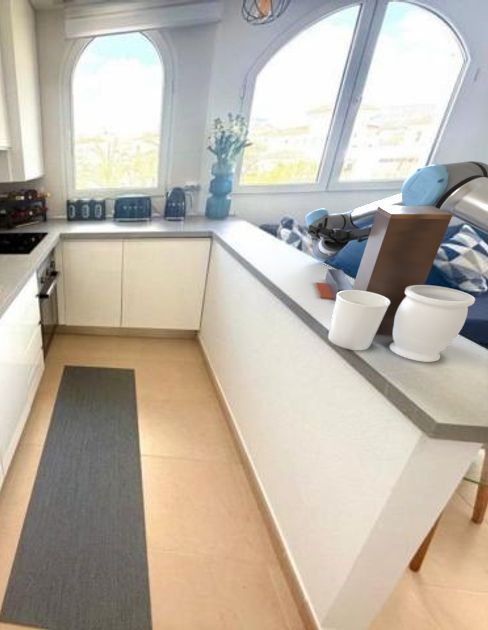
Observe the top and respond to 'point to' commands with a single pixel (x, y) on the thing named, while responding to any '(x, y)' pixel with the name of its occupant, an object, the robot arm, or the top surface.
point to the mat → (324, 291)
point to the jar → (428, 321)
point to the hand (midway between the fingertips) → (352, 222)
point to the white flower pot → (356, 318)
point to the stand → (400, 253)
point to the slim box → (337, 281)
